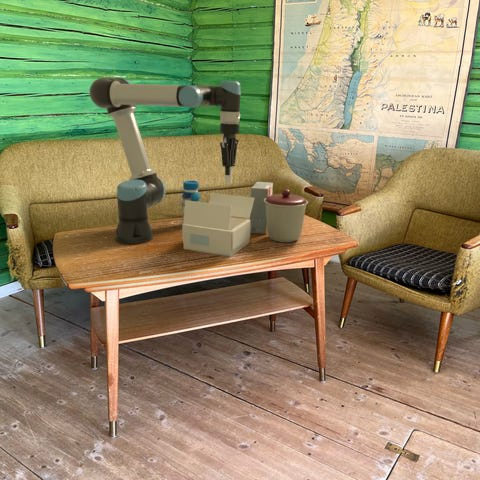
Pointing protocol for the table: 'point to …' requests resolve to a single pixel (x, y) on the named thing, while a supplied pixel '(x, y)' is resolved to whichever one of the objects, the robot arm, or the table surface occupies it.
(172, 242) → the table surface
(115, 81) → the robot arm
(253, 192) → the hard drive box
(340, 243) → the table surface
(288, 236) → the canister
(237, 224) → the carton
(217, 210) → the flap near
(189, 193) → the beverage bottle
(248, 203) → the flap far
